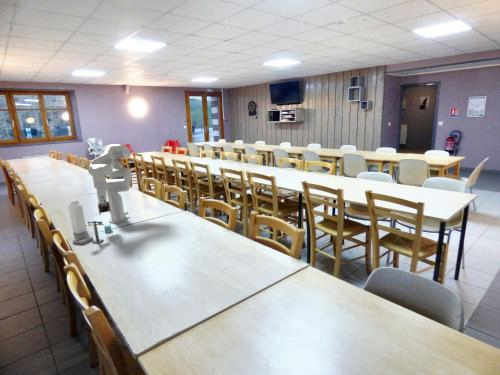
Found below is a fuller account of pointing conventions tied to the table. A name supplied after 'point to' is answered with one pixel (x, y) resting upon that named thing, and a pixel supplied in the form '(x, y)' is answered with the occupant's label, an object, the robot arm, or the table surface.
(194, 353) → the table surface
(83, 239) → the dish
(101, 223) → the balance beam
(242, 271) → the table surface
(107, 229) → the block
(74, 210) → the milk
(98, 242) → the balance stand
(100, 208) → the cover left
